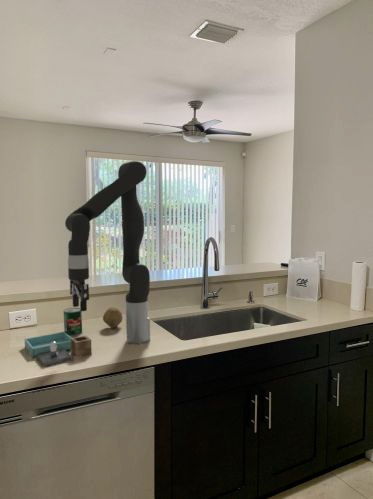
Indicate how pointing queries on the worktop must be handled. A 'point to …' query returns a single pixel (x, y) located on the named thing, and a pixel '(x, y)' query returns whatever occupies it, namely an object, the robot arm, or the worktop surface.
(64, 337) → the teal tray
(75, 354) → the hollow wooden cube
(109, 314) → the natural sponge
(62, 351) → the gauge pin stand
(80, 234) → the robot arm
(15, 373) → the worktop surface
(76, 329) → the canned tomato
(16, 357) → the worktop surface
